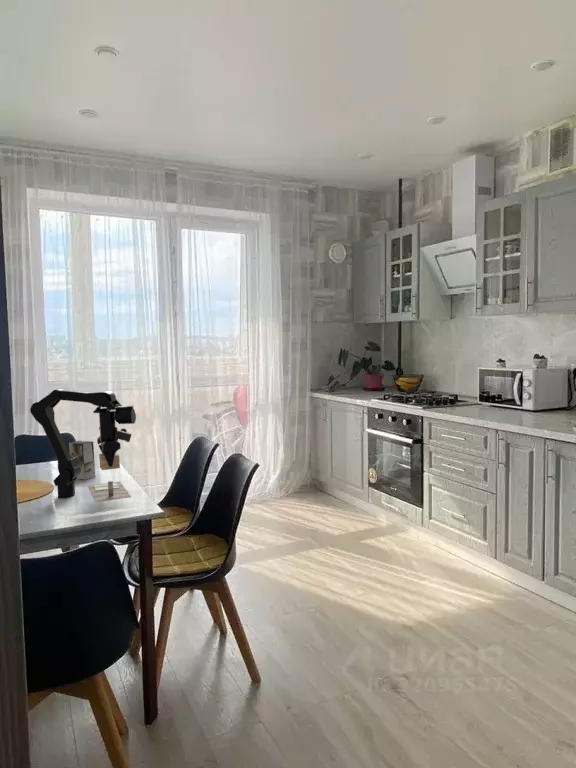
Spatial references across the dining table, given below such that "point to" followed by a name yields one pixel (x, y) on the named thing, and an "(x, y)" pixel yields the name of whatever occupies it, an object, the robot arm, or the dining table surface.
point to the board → (105, 493)
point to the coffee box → (84, 457)
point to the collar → (104, 462)
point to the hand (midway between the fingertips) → (109, 464)
